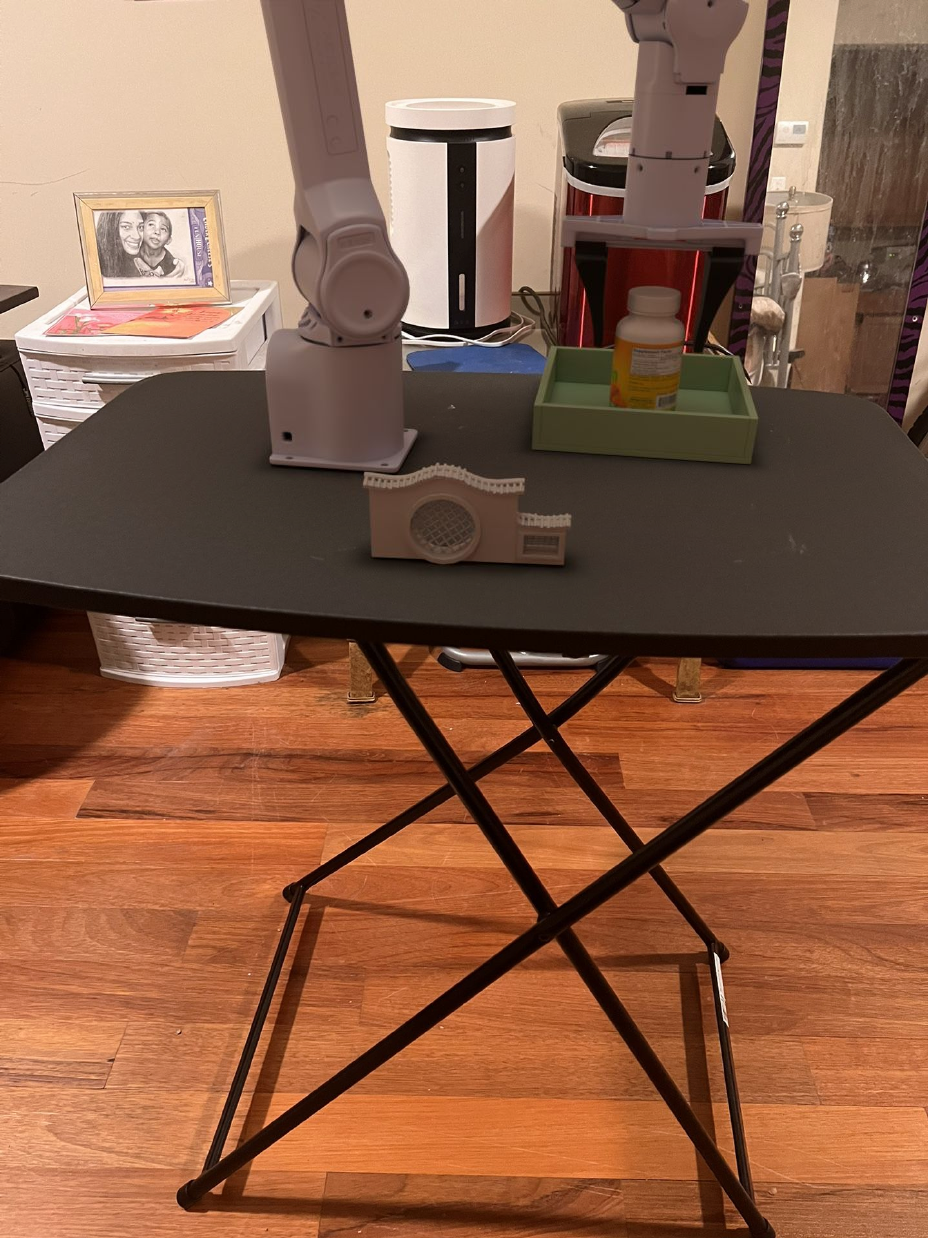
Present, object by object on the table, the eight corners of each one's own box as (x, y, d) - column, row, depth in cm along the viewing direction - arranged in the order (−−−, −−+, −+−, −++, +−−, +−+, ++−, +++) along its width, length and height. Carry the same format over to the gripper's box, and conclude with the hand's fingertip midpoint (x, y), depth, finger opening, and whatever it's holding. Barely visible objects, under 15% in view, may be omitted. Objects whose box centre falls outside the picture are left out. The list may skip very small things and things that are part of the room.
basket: (531, 449, 74) (533, 404, 72) (548, 384, 87) (551, 345, 85) (750, 464, 72) (758, 418, 70) (733, 395, 85) (739, 355, 83)
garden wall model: (567, 556, 59) (574, 464, 56) (568, 570, 57) (575, 476, 54) (370, 548, 59) (366, 456, 56) (365, 561, 58) (361, 468, 55)
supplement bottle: (610, 401, 82) (621, 281, 77) (675, 405, 81) (690, 285, 76) (605, 422, 77) (617, 297, 72) (674, 427, 77) (690, 301, 72)
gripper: (563, 157, 67) (551, 355, 74) (780, 164, 65) (746, 366, 72) (569, 147, 73) (557, 331, 80) (768, 154, 71) (738, 340, 78)
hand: (647, 346), depth 76 cm, fingers open, 7 cm apart
